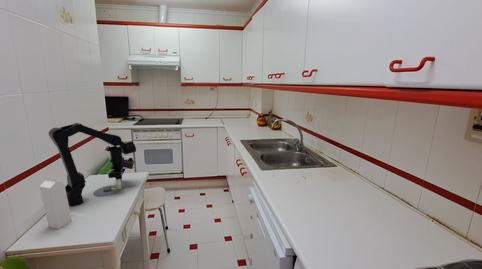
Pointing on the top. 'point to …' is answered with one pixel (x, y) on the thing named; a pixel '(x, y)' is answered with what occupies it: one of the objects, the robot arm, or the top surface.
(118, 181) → the peg
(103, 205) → the top surface
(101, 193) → the grey round disc
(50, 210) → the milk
